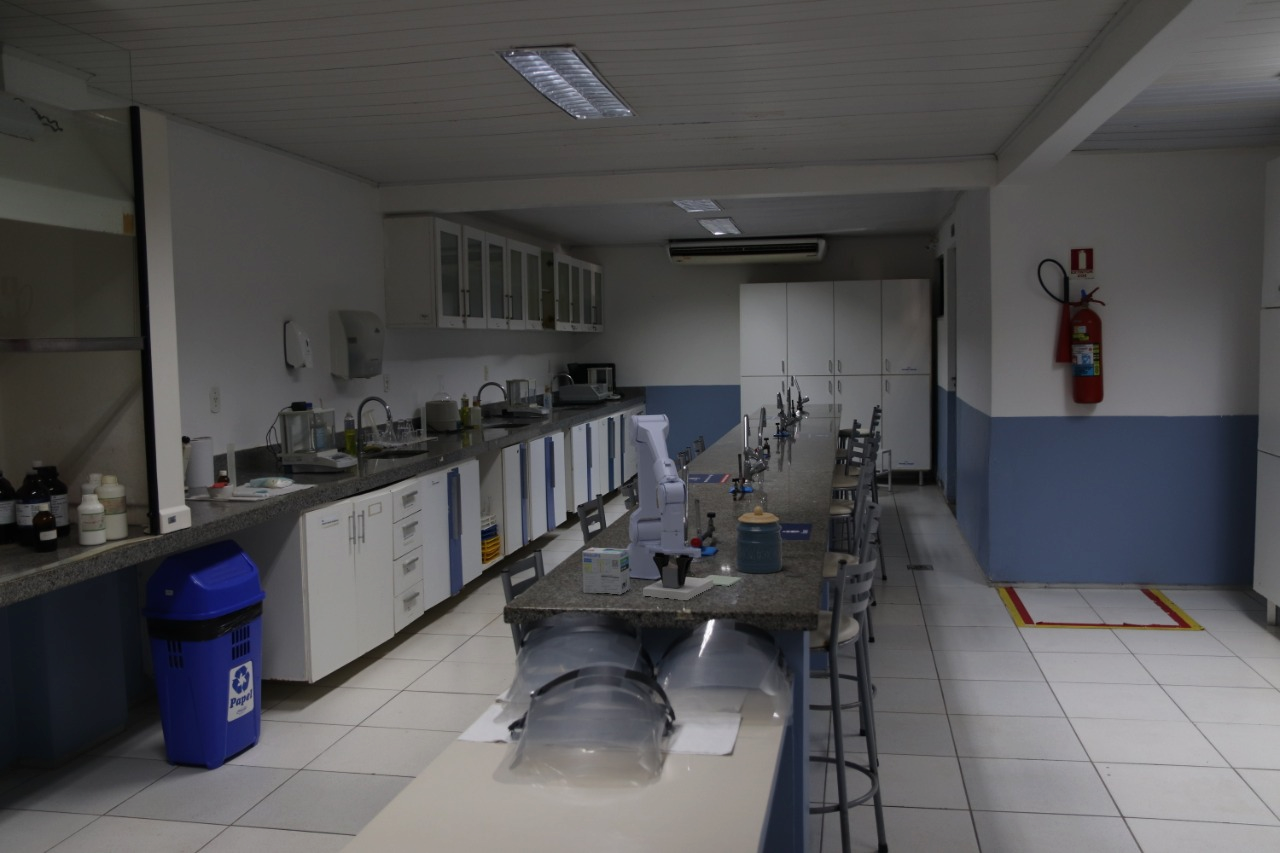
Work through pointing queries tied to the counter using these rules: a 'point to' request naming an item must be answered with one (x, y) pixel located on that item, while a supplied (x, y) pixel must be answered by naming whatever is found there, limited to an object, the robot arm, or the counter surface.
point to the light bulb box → (606, 570)
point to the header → (684, 593)
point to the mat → (723, 580)
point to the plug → (671, 577)
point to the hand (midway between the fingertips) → (673, 583)
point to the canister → (758, 543)
